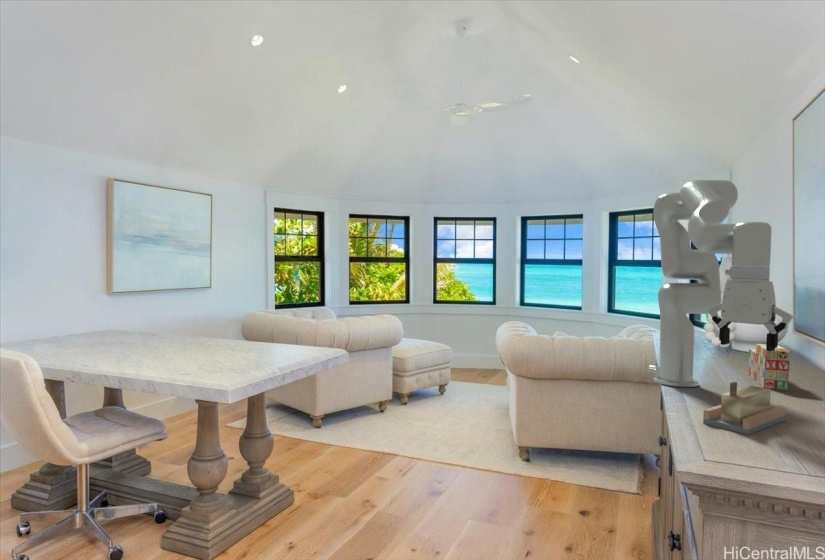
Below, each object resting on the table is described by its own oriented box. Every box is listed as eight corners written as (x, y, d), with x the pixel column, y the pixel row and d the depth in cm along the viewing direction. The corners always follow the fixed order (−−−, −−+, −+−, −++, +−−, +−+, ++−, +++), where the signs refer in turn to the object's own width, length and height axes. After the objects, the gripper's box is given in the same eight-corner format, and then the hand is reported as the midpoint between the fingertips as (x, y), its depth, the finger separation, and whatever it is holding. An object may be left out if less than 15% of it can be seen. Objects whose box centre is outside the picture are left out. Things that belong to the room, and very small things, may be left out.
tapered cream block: (720, 420, 115) (722, 381, 114) (751, 409, 124) (752, 373, 124) (740, 424, 111) (741, 384, 111) (769, 413, 120) (771, 376, 120)
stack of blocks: (748, 375, 172) (749, 339, 171) (769, 377, 169) (771, 341, 169) (763, 388, 152) (765, 348, 152) (788, 391, 150) (790, 350, 149)
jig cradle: (703, 423, 116) (703, 409, 116) (741, 410, 127) (742, 398, 127) (748, 435, 108) (749, 420, 108) (785, 420, 119) (785, 407, 119)
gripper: (703, 273, 122) (700, 343, 122) (787, 276, 107) (783, 354, 108) (718, 273, 126) (715, 341, 127) (800, 276, 112) (797, 351, 112)
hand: (747, 347), depth 117 cm, fingers open, 9 cm apart
